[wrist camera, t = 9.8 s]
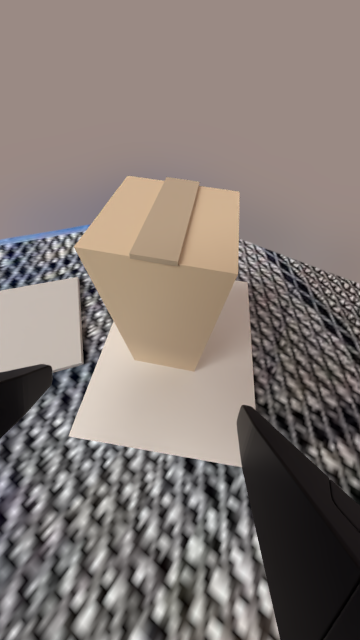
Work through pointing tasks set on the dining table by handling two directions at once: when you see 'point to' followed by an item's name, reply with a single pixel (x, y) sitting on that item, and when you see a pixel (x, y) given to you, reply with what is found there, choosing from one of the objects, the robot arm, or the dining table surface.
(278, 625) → the robot arm
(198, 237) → the kraft carton
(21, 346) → the grey mat
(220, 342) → the off-white pad
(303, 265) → the dining table surface
